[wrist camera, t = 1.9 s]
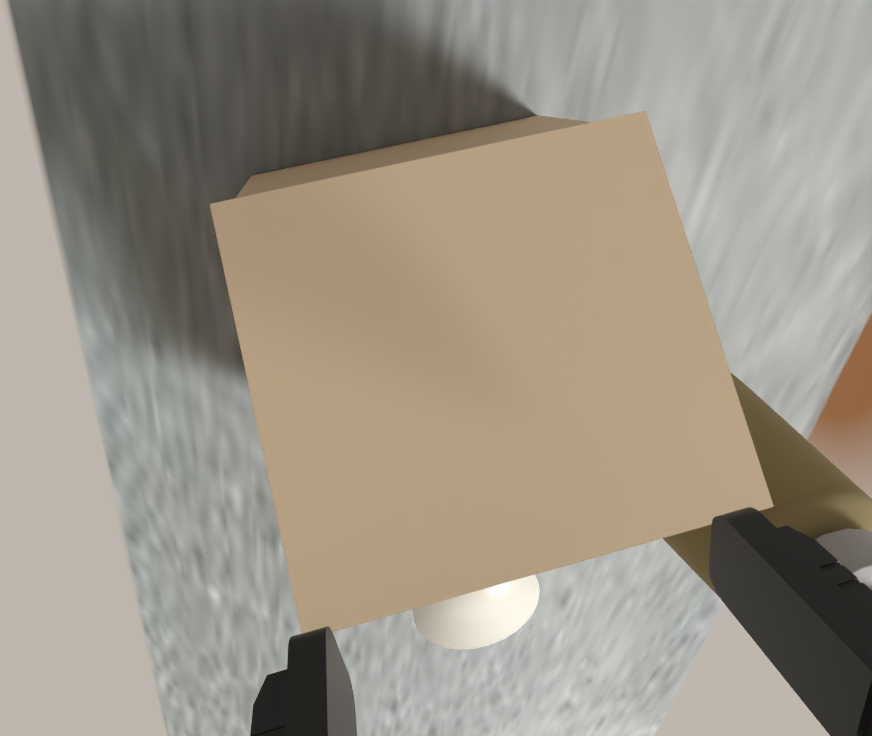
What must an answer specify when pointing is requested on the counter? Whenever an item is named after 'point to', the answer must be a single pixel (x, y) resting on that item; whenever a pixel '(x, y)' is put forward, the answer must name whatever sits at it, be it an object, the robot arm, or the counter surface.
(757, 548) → the robot arm
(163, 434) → the counter surface
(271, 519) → the counter surface
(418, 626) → the rounded white cylinder
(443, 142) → the cardboard box
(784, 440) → the squeeze bottle
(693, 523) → the lid
